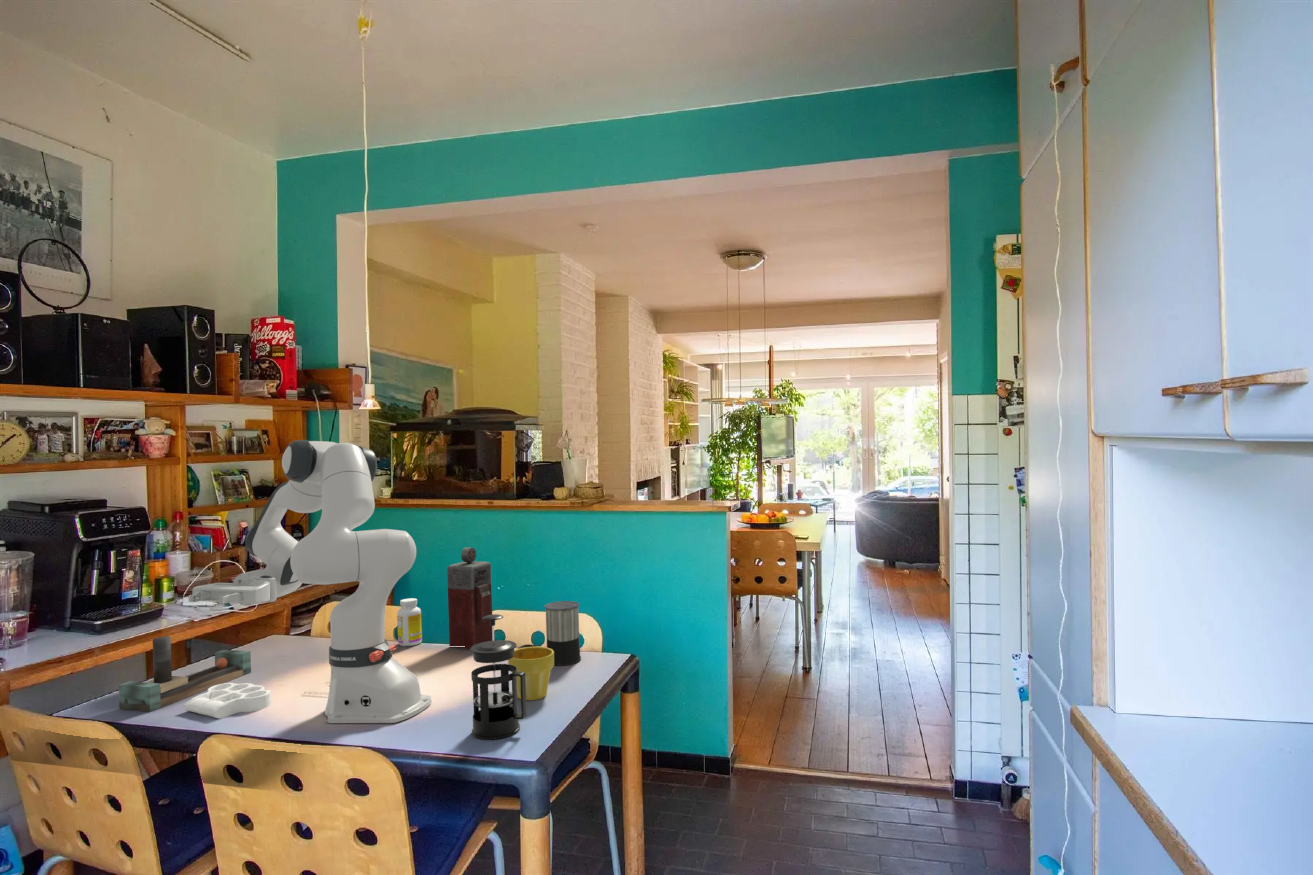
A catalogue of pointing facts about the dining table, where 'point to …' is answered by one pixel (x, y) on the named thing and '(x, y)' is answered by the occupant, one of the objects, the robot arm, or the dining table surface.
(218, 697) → the white paint palette
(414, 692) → the robot arm
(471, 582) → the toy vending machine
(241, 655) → the rail track
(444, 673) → the dining table surface
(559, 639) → the milk frother
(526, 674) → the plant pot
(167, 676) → the cylinder
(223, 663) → the button
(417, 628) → the supplement bottle
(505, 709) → the french press
